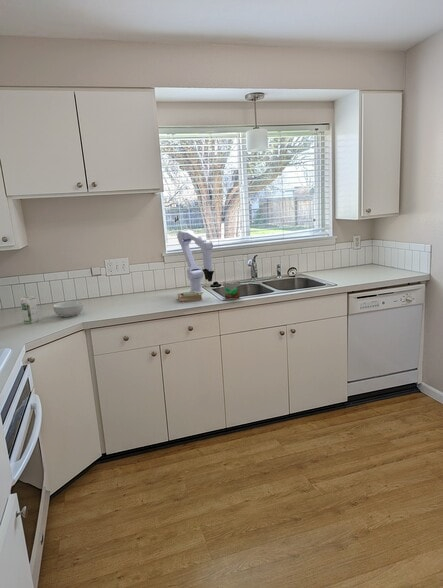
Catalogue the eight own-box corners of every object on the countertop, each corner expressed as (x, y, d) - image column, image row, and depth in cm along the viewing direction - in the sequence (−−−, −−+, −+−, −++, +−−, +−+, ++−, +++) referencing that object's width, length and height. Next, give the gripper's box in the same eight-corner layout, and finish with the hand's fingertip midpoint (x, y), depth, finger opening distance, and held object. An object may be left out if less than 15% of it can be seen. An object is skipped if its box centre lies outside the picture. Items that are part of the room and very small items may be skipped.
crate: (178, 298, 263) (177, 293, 263) (198, 296, 267) (198, 291, 266) (180, 302, 254) (180, 296, 253) (201, 299, 257) (201, 294, 256)
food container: (220, 298, 258) (219, 283, 256) (224, 296, 263) (223, 281, 261) (237, 299, 252) (236, 284, 250) (241, 297, 257) (240, 282, 255)
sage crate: (183, 298, 262) (183, 292, 261) (195, 297, 263) (195, 291, 263) (184, 300, 257) (184, 293, 256) (197, 298, 259) (196, 292, 258)
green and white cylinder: (23, 323, 224) (19, 298, 221) (32, 320, 229) (28, 295, 226) (30, 324, 222) (26, 298, 219) (39, 321, 227) (35, 296, 224)
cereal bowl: (84, 317, 230) (82, 305, 229) (53, 320, 226) (51, 308, 224) (85, 310, 246) (83, 299, 245) (56, 313, 242) (54, 302, 240)
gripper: (199, 259, 268) (200, 279, 271) (203, 261, 254) (205, 282, 257) (209, 258, 270) (210, 278, 272) (214, 260, 256) (215, 281, 259)
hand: (208, 280), depth 265 cm, fingers open, 7 cm apart
